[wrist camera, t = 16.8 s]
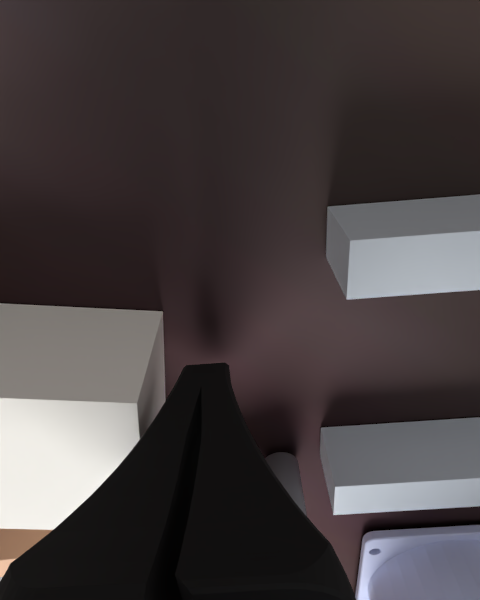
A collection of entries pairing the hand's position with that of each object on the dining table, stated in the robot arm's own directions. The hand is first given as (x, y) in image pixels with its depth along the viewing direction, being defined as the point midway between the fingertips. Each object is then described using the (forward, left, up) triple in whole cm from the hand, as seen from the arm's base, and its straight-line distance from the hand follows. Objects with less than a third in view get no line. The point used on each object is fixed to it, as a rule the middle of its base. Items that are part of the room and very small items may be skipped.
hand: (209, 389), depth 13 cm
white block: (0, +5, -1) cm, 5 cm away
